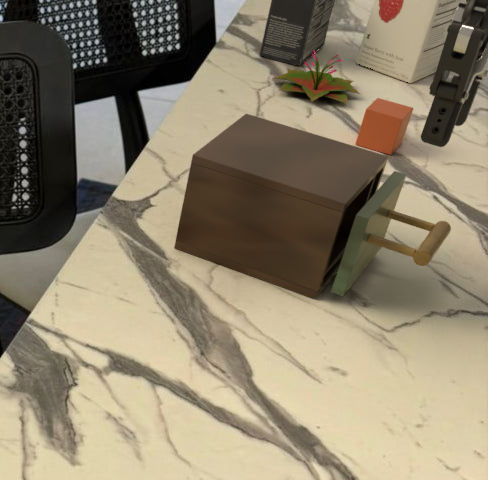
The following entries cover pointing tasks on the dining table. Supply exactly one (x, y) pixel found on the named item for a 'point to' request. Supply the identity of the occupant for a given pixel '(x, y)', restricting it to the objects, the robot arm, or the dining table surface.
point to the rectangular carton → (406, 37)
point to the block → (384, 126)
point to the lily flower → (317, 82)
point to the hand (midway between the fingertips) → (442, 131)
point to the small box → (295, 29)
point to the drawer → (378, 232)
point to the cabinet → (273, 201)
